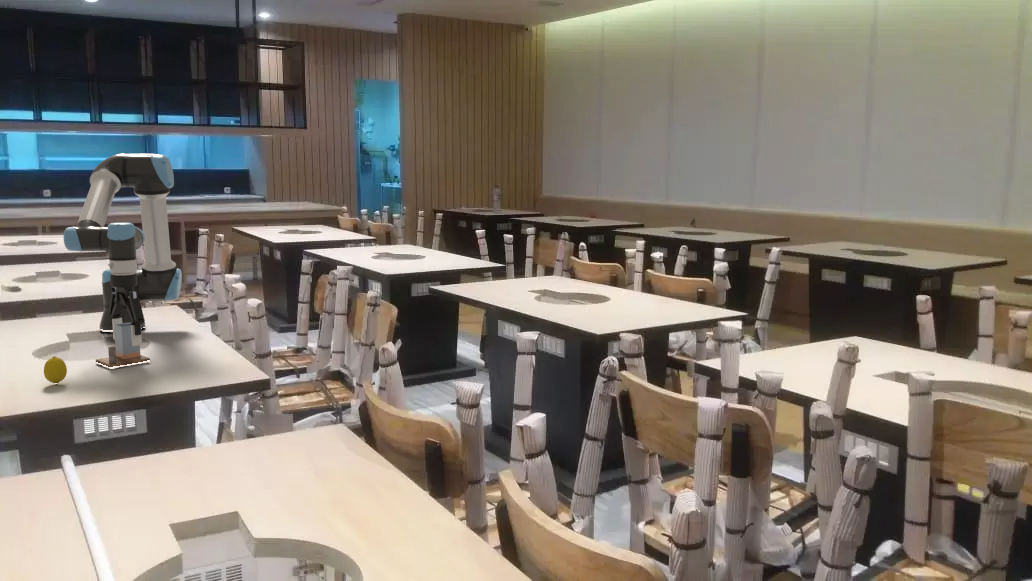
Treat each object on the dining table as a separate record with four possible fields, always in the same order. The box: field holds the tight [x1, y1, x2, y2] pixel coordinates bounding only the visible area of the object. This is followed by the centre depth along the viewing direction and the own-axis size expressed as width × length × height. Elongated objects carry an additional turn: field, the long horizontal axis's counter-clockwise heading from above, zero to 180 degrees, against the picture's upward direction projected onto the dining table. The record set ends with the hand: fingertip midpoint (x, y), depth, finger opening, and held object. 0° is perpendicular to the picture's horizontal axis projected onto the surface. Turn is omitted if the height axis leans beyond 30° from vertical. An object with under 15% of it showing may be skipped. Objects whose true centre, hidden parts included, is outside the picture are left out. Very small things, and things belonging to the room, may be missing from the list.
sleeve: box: [114, 323, 141, 359], centre depth 251 cm, size 5×5×10 cm
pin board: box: [95, 345, 151, 367], centre depth 248 cm, size 12×10×6 cm
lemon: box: [43, 355, 68, 384], centre depth 224 cm, size 6×6×8 cm
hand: (127, 342), depth 251 cm, fingers open, 12 cm apart
